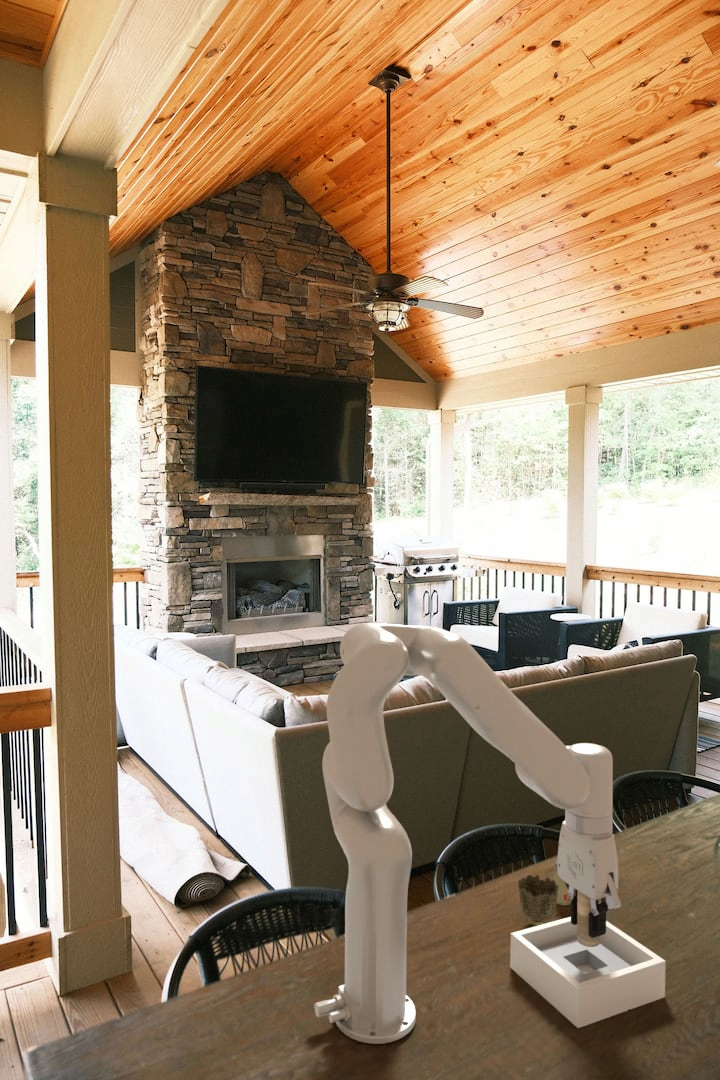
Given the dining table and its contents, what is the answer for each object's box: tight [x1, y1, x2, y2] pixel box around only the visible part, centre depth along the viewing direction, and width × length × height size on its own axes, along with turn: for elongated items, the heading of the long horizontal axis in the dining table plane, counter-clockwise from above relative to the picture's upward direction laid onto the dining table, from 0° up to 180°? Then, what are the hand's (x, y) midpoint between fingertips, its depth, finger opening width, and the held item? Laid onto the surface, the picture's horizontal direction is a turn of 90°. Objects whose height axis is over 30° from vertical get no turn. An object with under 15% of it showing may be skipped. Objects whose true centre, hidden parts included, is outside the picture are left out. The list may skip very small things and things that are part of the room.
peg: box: [577, 890, 601, 947], centre depth 126 cm, size 4×4×10 cm
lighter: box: [553, 859, 572, 906], centre depth 153 cm, size 7×4×10 cm, turn 110°
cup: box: [517, 874, 558, 927], centre depth 143 cm, size 8×7×8 cm
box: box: [509, 916, 667, 1029], centre depth 126 cm, size 18×17×6 cm
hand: (588, 927), depth 126 cm, fingers closed on peg, 3 cm apart
